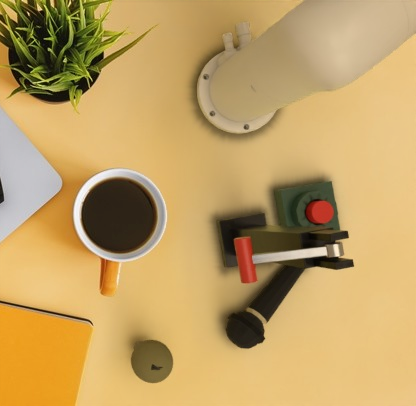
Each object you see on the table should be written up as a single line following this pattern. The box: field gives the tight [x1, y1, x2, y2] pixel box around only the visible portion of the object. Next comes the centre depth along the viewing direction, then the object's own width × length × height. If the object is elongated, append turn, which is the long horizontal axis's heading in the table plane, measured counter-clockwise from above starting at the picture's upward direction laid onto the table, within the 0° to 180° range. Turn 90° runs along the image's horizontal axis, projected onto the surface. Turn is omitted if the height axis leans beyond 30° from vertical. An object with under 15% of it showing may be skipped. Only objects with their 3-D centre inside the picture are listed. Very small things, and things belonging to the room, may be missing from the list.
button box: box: [273, 180, 341, 230], centre depth 81 cm, size 8×8×4 cm
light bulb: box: [130, 339, 174, 384], centre depth 75 cm, size 6×6×10 cm
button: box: [306, 201, 334, 223], centre depth 78 cm, size 3×3×2 cm
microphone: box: [225, 265, 306, 350], centre depth 80 cm, size 6×6×20 cm
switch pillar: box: [216, 212, 355, 271], centre depth 69 cm, size 7×7×26 cm
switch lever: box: [234, 237, 345, 284], centre depth 60 cm, size 5×11×2 cm, turn 100°
